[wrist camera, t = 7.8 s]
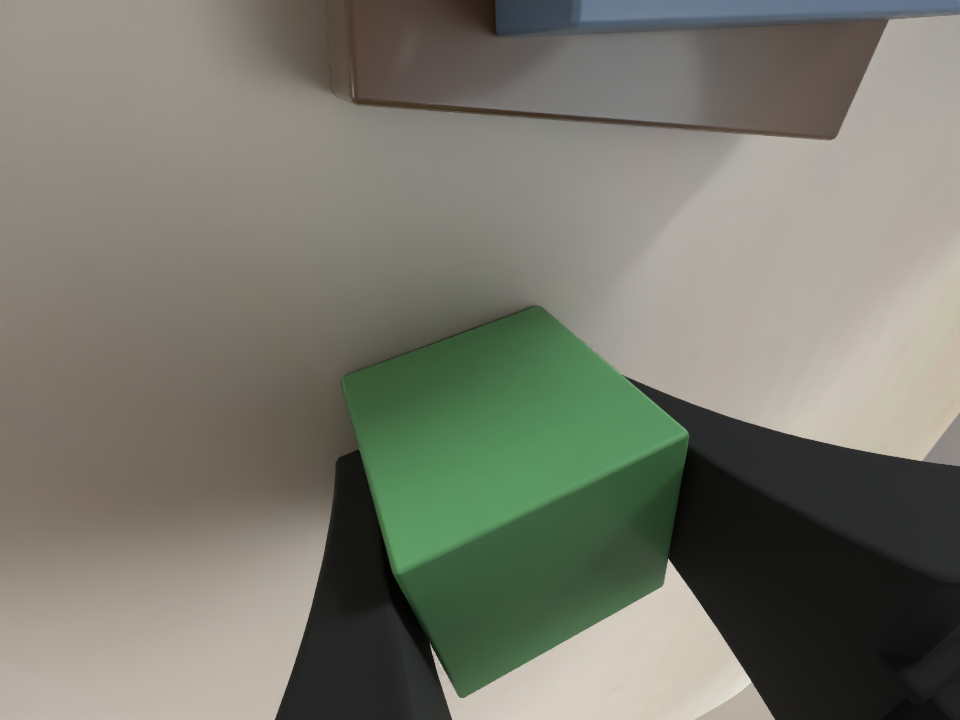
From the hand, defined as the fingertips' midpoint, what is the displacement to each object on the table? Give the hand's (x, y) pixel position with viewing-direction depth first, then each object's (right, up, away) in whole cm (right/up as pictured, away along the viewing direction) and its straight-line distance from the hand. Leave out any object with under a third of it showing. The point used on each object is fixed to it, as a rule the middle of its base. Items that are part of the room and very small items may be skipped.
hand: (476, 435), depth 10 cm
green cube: (0, 0, +1) cm, 1 cm away
